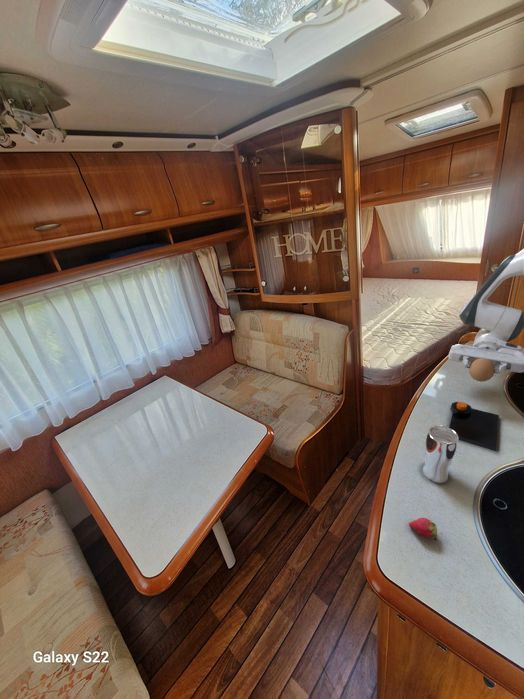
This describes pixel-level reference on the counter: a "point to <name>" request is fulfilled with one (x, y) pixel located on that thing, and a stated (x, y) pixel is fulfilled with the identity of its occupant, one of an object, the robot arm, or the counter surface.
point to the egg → (482, 369)
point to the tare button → (461, 406)
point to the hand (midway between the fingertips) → (482, 368)
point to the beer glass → (439, 452)
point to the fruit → (424, 528)
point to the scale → (475, 426)
